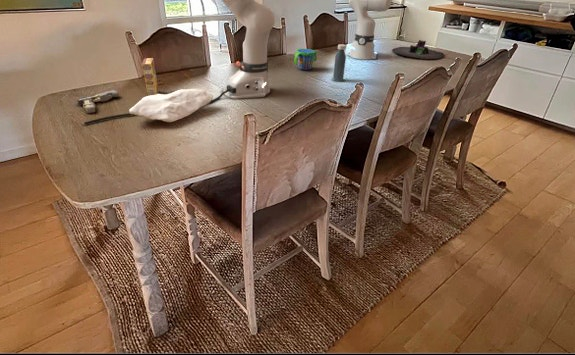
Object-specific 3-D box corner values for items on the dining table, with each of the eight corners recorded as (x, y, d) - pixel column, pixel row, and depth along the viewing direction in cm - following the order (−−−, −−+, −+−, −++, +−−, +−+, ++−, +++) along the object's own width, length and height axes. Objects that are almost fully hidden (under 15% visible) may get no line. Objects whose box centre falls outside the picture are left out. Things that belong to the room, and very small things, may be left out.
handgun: (128, 97, 156) (111, 87, 164) (86, 107, 144) (70, 97, 152) (129, 103, 157) (113, 94, 165) (88, 114, 146) (72, 103, 154)
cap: (343, 47, 189) (344, 44, 188) (346, 49, 186) (347, 46, 185) (336, 47, 188) (336, 44, 187) (339, 49, 185) (339, 46, 184)
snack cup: (310, 64, 218) (311, 47, 212) (321, 69, 211) (322, 51, 205) (288, 68, 210) (289, 50, 205) (299, 73, 203) (300, 54, 198)
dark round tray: (454, 55, 249) (457, 41, 244) (422, 61, 231) (424, 46, 227) (413, 47, 273) (415, 35, 269) (381, 52, 256) (382, 39, 252)
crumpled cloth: (117, 110, 146) (113, 90, 140) (195, 92, 166) (194, 73, 160) (143, 139, 134) (140, 118, 128) (223, 116, 154) (224, 96, 148)
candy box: (157, 97, 164) (152, 63, 155) (147, 98, 163) (141, 63, 155) (158, 91, 171) (153, 57, 163) (149, 91, 170) (143, 58, 162)
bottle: (340, 78, 198) (344, 44, 189) (344, 81, 194) (348, 47, 184) (331, 78, 197) (334, 44, 188) (335, 81, 193) (338, 47, 183)
